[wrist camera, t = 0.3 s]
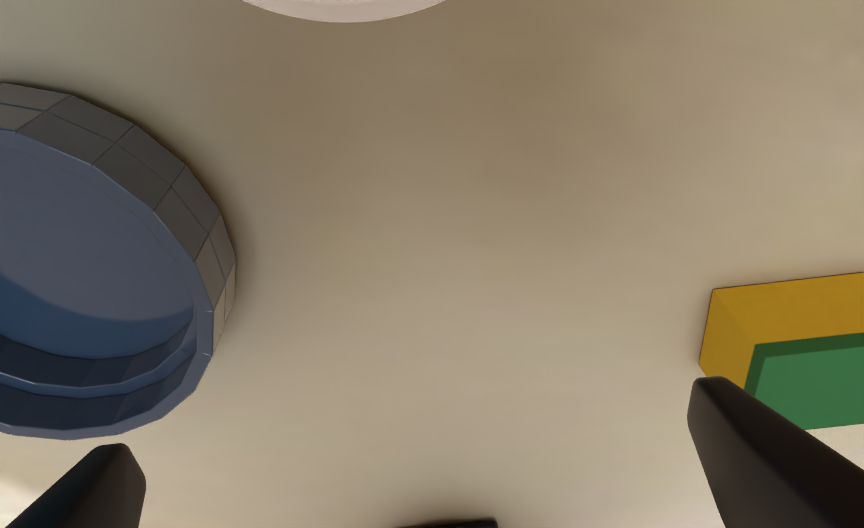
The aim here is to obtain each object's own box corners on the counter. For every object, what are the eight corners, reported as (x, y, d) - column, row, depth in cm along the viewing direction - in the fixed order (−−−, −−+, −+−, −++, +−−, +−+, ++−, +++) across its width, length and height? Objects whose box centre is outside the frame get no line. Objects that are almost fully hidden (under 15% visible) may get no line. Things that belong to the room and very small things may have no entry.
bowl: (273, 353, 27) (255, 420, 24) (-12, 385, 27) (-69, 456, 24) (175, 57, 20) (130, 94, 17) (-211, 104, 20) (-332, 149, 17)
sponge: (871, 271, 26) (950, 337, 23) (842, 348, 29) (910, 419, 25) (712, 289, 26) (765, 357, 23) (698, 364, 29) (743, 437, 25)
